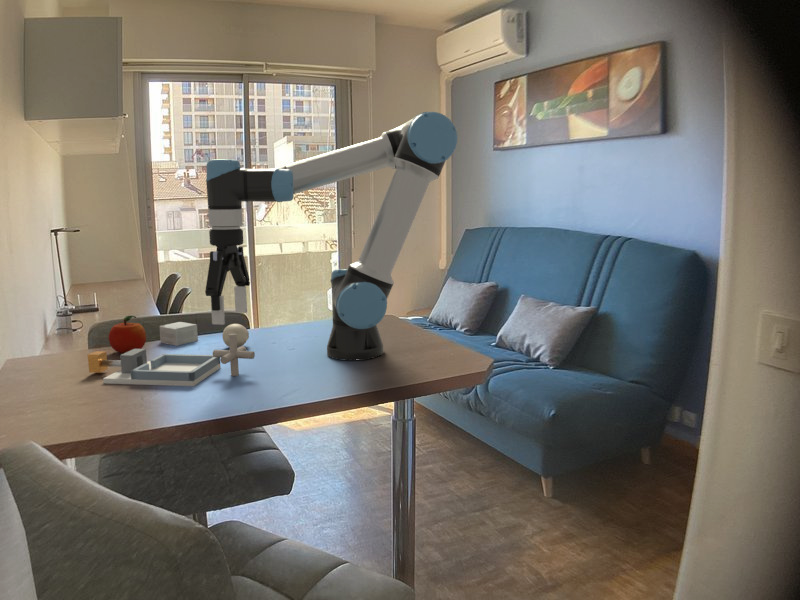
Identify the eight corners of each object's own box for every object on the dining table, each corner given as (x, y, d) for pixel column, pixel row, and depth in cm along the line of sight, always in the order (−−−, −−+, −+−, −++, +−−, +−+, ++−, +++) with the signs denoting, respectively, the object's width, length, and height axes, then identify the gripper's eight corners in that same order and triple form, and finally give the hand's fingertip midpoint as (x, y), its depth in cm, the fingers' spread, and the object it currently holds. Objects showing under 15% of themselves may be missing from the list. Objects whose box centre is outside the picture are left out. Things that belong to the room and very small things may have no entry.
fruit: (101, 354, 172) (98, 318, 170) (128, 346, 181) (125, 312, 179) (128, 358, 168) (125, 321, 167) (154, 349, 177) (151, 314, 175)
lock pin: (139, 369, 155) (138, 352, 154) (132, 373, 151) (130, 355, 151) (97, 368, 156) (95, 351, 155) (89, 372, 153) (87, 354, 152)
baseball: (253, 347, 178) (252, 324, 177) (228, 351, 174) (226, 327, 173) (244, 342, 183) (243, 320, 182) (220, 346, 179) (218, 323, 178)
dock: (220, 367, 158) (219, 345, 157) (193, 386, 143) (191, 362, 142) (138, 365, 161) (136, 344, 160) (103, 383, 146) (101, 360, 145)
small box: (198, 340, 187) (197, 324, 186) (176, 346, 181) (175, 329, 180) (182, 337, 192) (181, 321, 191) (159, 342, 185) (158, 325, 184)
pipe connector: (245, 382, 146) (242, 340, 144) (205, 379, 148) (202, 338, 146) (262, 369, 156) (260, 330, 154) (225, 368, 158) (223, 329, 156)
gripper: (231, 224, 158) (235, 307, 162) (185, 231, 134) (191, 329, 138) (260, 224, 157) (263, 308, 161) (219, 231, 133) (224, 330, 137)
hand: (230, 318), depth 149 cm, fingers open, 13 cm apart
